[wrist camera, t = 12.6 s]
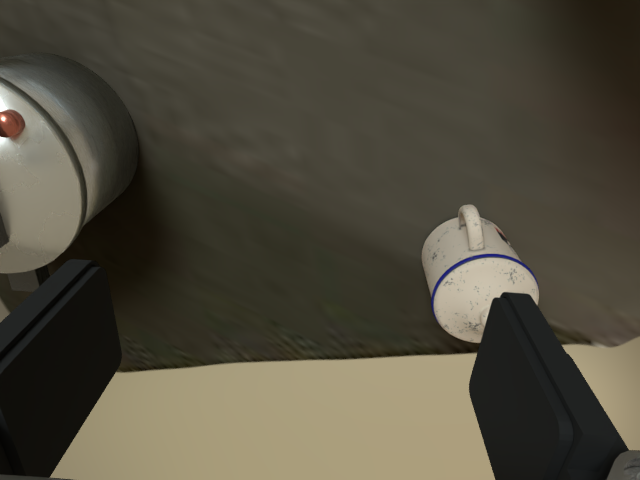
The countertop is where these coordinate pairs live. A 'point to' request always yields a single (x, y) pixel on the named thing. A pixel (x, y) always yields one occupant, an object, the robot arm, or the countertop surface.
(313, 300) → the countertop surface
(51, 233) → the lid
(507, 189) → the countertop surface
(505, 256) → the teacup with lid
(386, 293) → the countertop surface
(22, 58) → the pot
